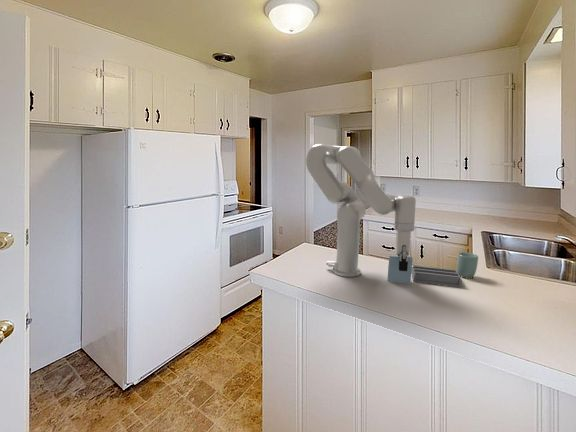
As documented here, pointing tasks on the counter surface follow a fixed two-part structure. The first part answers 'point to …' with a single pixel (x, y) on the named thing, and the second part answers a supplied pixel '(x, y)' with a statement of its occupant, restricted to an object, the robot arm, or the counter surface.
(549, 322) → the counter surface
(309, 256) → the counter surface
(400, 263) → the robot arm
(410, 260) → the light blue upright panel
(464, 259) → the cup
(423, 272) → the rack
